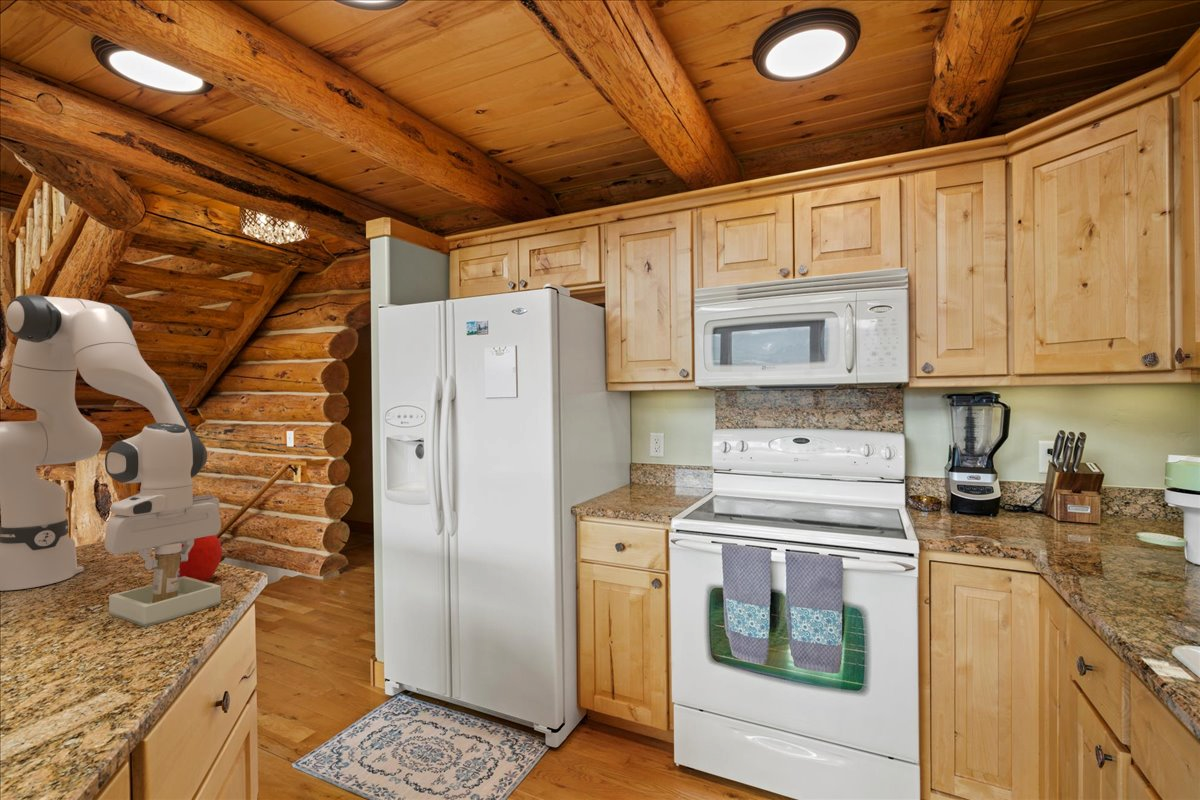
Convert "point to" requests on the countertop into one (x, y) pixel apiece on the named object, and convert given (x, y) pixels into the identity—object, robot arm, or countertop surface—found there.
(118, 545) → the robot arm
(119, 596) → the bin
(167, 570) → the sprinkles bottle
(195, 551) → the apple
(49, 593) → the countertop surface
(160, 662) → the countertop surface
